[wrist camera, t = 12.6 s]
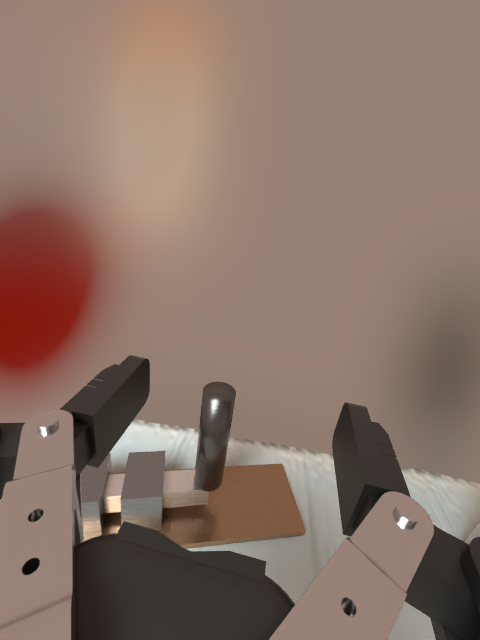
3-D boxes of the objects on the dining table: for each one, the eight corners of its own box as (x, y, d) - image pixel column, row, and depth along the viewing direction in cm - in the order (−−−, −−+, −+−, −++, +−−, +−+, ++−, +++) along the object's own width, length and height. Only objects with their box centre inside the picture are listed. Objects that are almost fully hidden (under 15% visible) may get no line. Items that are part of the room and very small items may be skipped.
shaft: (218, 480, 37) (233, 381, 31) (221, 505, 34) (238, 402, 28) (66, 491, 34) (49, 381, 27) (56, 520, 31) (34, 405, 25)
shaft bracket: (280, 467, 43) (289, 434, 40) (303, 535, 35) (316, 499, 32) (67, 481, 37) (61, 443, 34) (36, 565, 29) (25, 525, 26)
